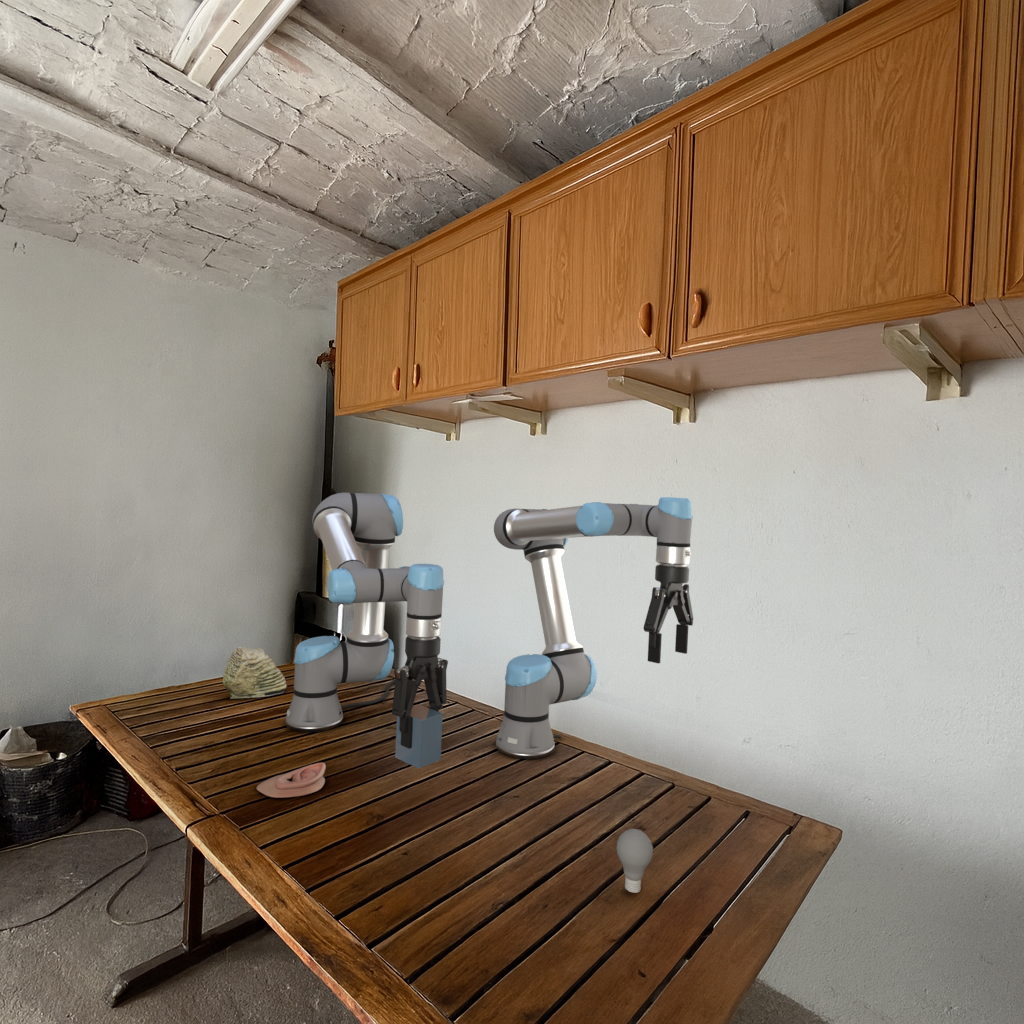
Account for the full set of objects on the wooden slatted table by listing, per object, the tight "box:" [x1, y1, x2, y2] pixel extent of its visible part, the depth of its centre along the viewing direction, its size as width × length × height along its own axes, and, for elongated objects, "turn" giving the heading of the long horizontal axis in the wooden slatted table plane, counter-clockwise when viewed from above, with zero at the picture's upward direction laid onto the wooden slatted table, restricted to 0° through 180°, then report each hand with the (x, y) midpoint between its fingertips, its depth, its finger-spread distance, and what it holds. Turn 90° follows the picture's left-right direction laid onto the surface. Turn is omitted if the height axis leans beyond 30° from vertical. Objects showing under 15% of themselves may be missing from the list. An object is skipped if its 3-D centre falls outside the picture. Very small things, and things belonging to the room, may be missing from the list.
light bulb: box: [615, 828, 654, 894], centre depth 106 cm, size 6×6×10 cm
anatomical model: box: [256, 762, 327, 799], centre depth 137 cm, size 13×4×12 cm
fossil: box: [222, 646, 288, 699], centre depth 198 cm, size 9×18×15 cm, turn 132°
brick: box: [394, 704, 444, 769], centre depth 137 cm, size 6×8×10 cm
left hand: (418, 741), depth 137 cm, fingers closed on brick, 6 cm apart
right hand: (667, 657), depth 145 cm, fingers open, 13 cm apart
